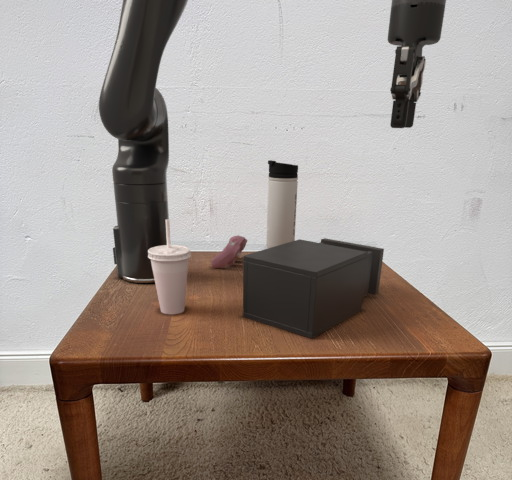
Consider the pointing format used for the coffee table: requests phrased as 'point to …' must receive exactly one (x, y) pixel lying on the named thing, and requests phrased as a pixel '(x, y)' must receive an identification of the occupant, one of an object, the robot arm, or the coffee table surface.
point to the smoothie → (170, 274)
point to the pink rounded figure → (230, 252)
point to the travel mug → (281, 203)
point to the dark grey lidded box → (303, 286)
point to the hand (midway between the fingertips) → (401, 127)
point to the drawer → (371, 266)
